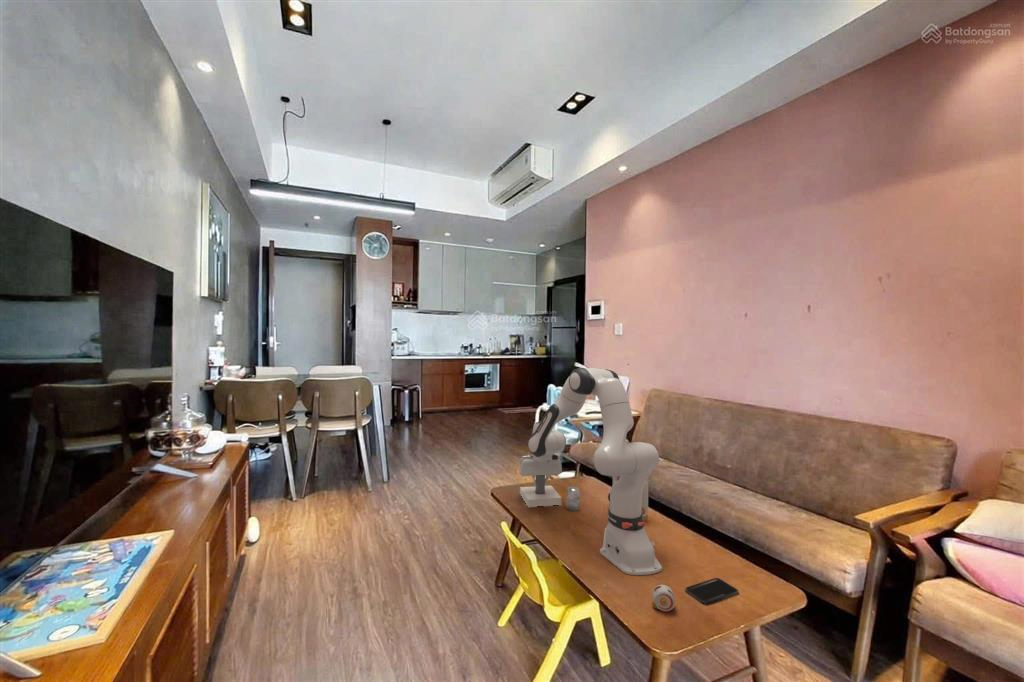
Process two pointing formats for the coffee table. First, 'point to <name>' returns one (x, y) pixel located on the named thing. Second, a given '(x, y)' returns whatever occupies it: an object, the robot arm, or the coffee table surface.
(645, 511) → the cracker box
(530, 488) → the socket block
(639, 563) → the robot arm
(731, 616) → the coffee table surface
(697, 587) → the phone
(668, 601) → the roller toy
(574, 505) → the round peg
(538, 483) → the square peg
